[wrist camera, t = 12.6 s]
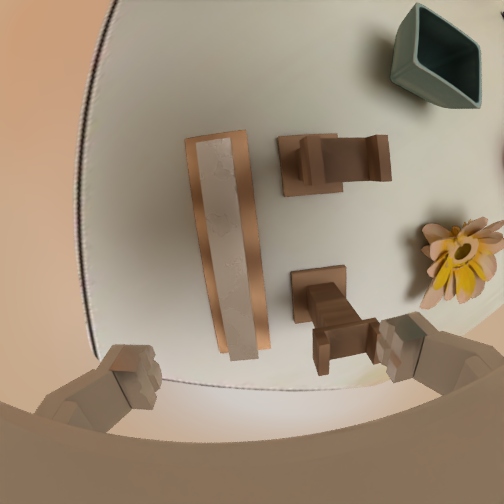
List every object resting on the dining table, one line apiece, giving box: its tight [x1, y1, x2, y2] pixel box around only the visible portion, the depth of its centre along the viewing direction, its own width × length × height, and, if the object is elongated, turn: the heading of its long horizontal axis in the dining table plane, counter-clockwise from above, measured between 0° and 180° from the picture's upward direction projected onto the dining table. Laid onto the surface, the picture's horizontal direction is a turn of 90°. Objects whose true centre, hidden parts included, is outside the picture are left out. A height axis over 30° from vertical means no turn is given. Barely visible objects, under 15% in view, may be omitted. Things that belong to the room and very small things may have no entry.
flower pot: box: [390, 3, 482, 109], centre depth 19 cm, size 9×9×9 cm
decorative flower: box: [420, 217, 504, 309], centre depth 25 cm, size 15×11×10 cm
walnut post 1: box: [277, 134, 392, 197], centre depth 21 cm, size 6×6×12 cm
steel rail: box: [196, 138, 258, 361], centre depth 27 cm, size 22×3×3 cm, turn 7°
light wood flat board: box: [185, 130, 271, 353], centre depth 29 cm, size 24×6×1 cm, turn 7°
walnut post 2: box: [291, 265, 382, 376], centre depth 25 cm, size 6×6×12 cm
